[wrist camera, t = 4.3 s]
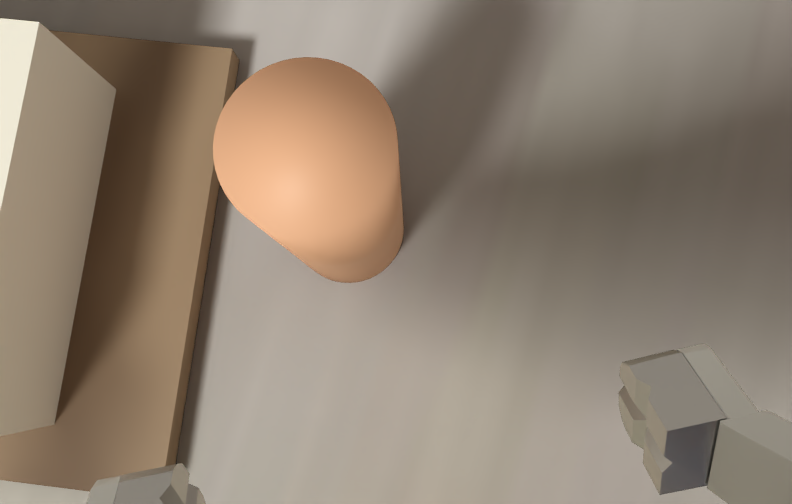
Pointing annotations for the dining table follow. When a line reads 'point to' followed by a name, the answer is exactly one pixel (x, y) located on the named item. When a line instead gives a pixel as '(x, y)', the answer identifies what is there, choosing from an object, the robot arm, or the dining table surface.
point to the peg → (315, 165)
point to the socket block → (43, 211)
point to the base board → (136, 267)
